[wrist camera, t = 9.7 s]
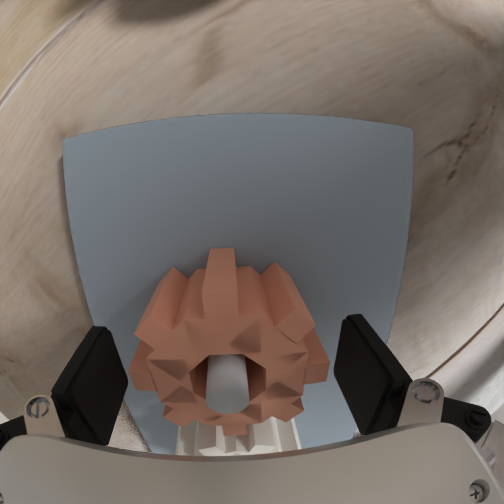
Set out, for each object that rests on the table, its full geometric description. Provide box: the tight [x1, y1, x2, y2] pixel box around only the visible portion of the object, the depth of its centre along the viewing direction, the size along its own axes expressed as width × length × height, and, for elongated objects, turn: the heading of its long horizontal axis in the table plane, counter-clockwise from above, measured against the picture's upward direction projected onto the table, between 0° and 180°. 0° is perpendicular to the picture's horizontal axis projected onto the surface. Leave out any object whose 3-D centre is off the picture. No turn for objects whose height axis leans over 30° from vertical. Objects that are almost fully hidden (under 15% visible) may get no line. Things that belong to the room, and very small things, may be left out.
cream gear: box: [175, 416, 302, 456], centre depth 13 cm, size 7×7×4 cm
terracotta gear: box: [128, 248, 330, 436], centre depth 11 cm, size 7×7×4 cm
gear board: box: [62, 113, 413, 455], centre depth 12 cm, size 24×16×6 cm, turn 1°
